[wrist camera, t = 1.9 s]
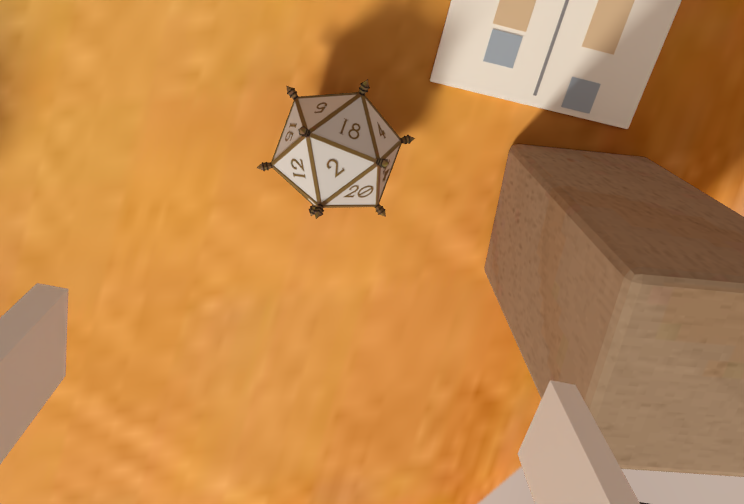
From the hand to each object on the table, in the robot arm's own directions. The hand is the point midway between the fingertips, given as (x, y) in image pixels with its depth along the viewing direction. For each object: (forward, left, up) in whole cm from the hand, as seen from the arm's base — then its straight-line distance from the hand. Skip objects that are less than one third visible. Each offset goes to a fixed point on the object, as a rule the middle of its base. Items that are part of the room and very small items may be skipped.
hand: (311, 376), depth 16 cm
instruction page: (-10, +12, -26) cm, 31 cm away
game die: (0, 0, -27) cm, 27 cm away
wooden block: (+2, +17, -27) cm, 32 cm away
